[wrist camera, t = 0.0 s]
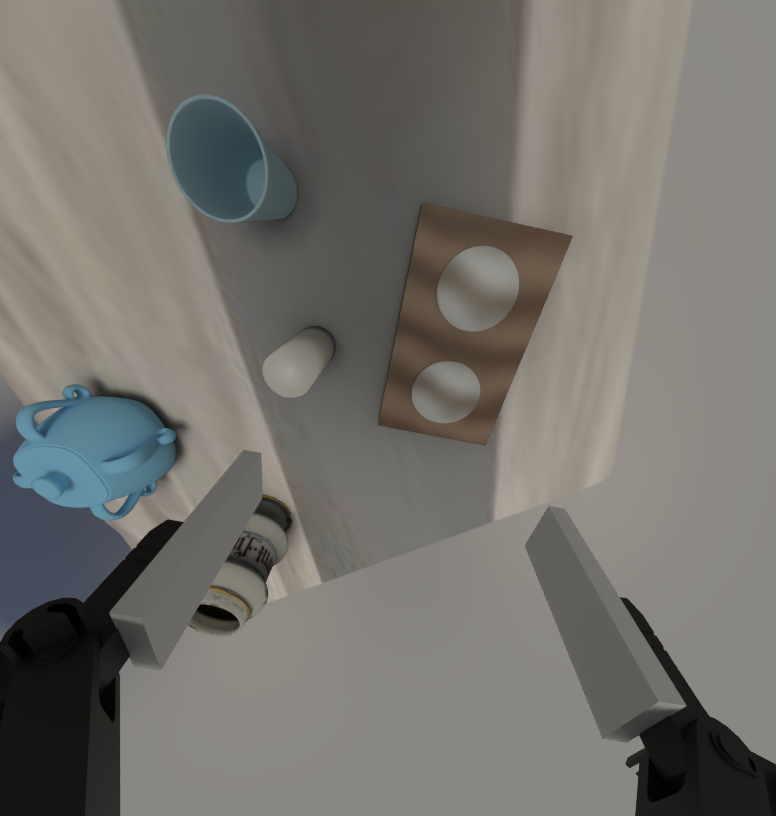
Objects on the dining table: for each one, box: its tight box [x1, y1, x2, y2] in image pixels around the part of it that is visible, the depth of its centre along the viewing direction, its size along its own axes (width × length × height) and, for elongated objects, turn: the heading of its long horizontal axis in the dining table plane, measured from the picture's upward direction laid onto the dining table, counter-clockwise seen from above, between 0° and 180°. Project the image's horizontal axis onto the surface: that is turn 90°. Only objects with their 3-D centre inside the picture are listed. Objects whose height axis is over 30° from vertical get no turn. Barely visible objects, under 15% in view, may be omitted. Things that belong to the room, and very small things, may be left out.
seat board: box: [378, 203, 573, 445], centre depth 37 cm, size 27×16×2 cm, turn 169°
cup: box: [166, 94, 297, 223], centre depth 27 cm, size 8×8×10 cm
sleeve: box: [263, 326, 336, 398], centre depth 34 cm, size 5×5×11 cm
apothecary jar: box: [187, 495, 292, 637], centre depth 47 cm, size 12×12×18 cm
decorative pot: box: [13, 384, 176, 520], centre depth 42 cm, size 16×16×14 cm
